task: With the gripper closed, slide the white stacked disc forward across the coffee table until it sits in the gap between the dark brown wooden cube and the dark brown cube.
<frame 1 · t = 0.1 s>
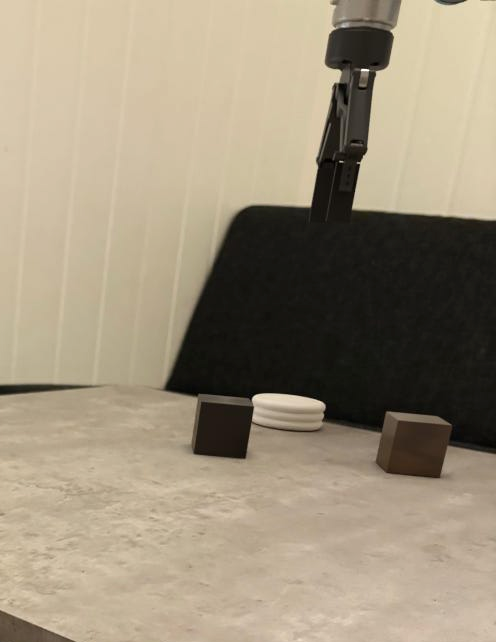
hand: (327, 223, 128), 26 cm above the table, tool pointing down, fingers open, 13 cm apart
dark brown cube: (217, 451, 120), on the table
dark brown wooden cube: (406, 469, 118), on the table
white stacked disc: (284, 425, 141), on the table
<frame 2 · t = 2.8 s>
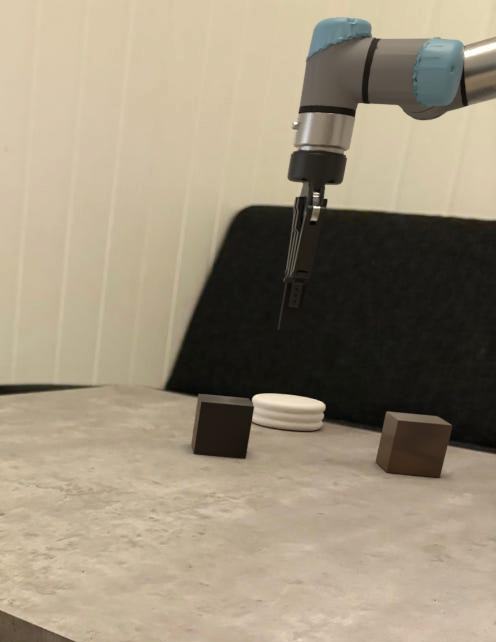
hand: (287, 330, 147), 12 cm above the table, tool pointing down, fingers closed
nothing on the table moved.
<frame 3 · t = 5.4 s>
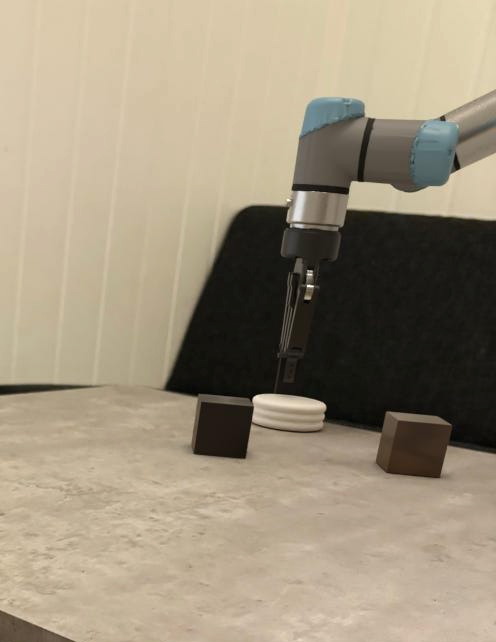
hand: (282, 404, 145), 2 cm above the table, tool pointing down, fingers closed
white stacked disc: (285, 426, 140), on the table, touching gripper
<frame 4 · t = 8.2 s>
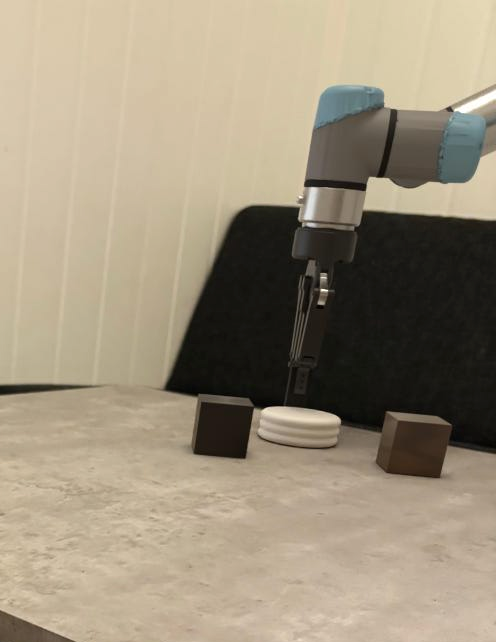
hand: (292, 417, 135), 2 cm above the table, tool pointing down, fingers closed
white stacked disc: (296, 441, 130), on the table, touching gripper
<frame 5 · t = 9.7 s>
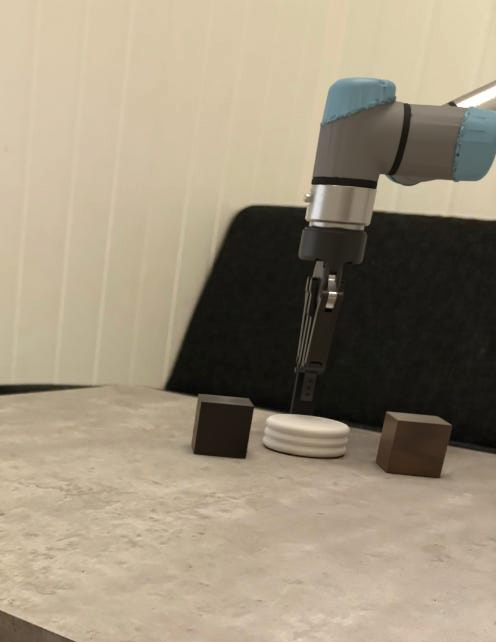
hand: (299, 425, 129), 2 cm above the table, tool pointing down, fingers closed
white stacked disc: (302, 451, 125), on the table, touching gripper
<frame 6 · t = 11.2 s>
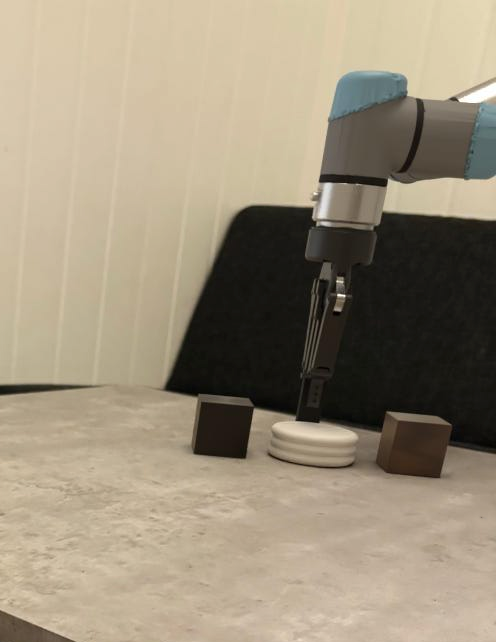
hand: (305, 432, 124), 2 cm above the table, tool pointing down, fingers closed
white stacked disc: (309, 459, 120), on the table, touching gripper
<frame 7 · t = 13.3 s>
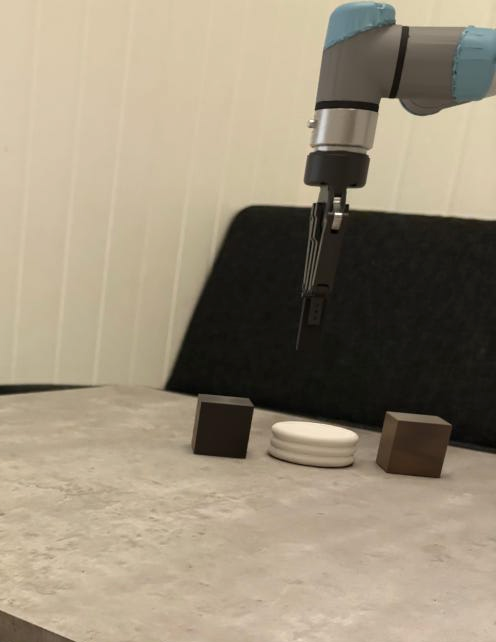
hand: (306, 350, 132), 11 cm above the table, tool pointing down, fingers closed
white stacked disc: (309, 459, 120), on the table
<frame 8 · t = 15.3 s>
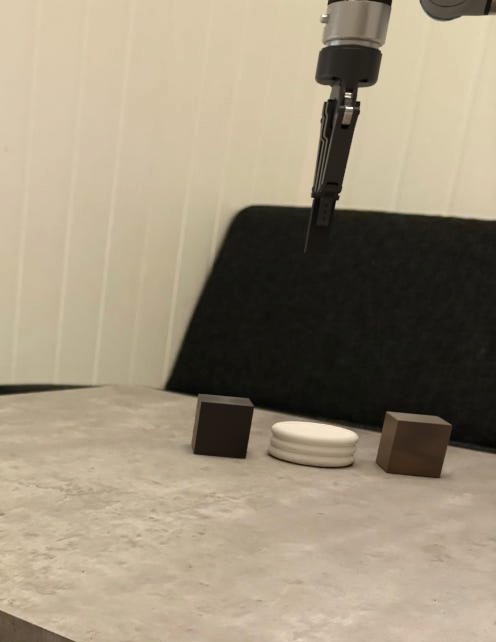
hand: (315, 253, 132), 22 cm above the table, tool pointing down, fingers closed
nothing on the table moved.
at the end: white stacked disc inside the target area on the table beside the dark brown wooden cube (1.1 cm from its centre), on the table; white stacked disc moved 22.9 cm from its start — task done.
